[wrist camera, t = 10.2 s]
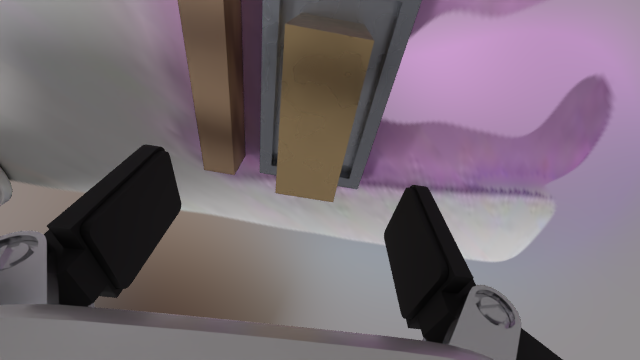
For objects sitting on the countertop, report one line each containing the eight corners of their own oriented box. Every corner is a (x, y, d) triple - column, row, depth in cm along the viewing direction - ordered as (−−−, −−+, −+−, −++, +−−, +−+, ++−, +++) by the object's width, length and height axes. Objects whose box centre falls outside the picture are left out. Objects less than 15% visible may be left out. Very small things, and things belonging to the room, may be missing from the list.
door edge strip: (245, 155, 23) (234, 174, 21) (218, 151, 23) (204, 169, 21) (234, -226, 11) (204, -286, 8) (176, -241, 11) (129, -305, 8)
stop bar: (364, 24, 16) (374, 40, 11) (334, 155, 22) (332, 202, 17) (302, 12, 16) (285, 23, 11) (289, 148, 22) (275, 193, 17)
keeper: (356, 179, 24) (357, 189, 23) (263, 163, 24) (259, 172, 22) (420, -16, 15) (427, -17, 14) (269, -49, 14) (263, -52, 13)
